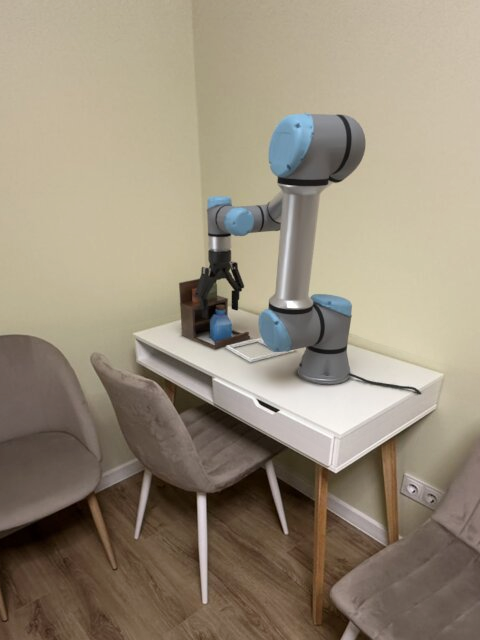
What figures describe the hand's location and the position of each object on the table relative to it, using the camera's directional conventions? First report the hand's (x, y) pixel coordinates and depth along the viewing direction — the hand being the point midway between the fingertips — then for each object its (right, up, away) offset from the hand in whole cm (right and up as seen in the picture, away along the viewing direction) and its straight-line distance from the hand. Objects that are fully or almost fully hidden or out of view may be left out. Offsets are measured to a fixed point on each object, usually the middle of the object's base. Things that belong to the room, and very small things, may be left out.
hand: (220, 313), depth 164 cm
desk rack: (-2, -7, +7) cm, 10 cm away
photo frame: (+14, -14, -5) cm, 20 cm away
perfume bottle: (0, -8, +5) cm, 9 cm away
